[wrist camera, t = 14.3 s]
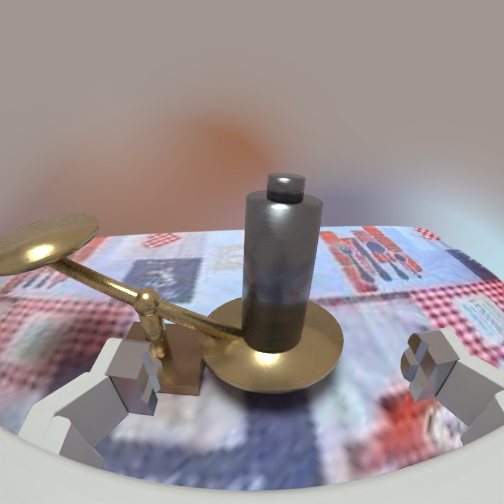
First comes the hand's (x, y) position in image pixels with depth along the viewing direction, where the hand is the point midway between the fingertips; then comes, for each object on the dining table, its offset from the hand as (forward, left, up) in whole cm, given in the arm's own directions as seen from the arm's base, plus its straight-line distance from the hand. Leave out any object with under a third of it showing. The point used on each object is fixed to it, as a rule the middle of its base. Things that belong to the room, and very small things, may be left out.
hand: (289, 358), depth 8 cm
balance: (-10, +12, -13) cm, 20 cm away
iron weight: (0, +12, -9) cm, 15 cm away
